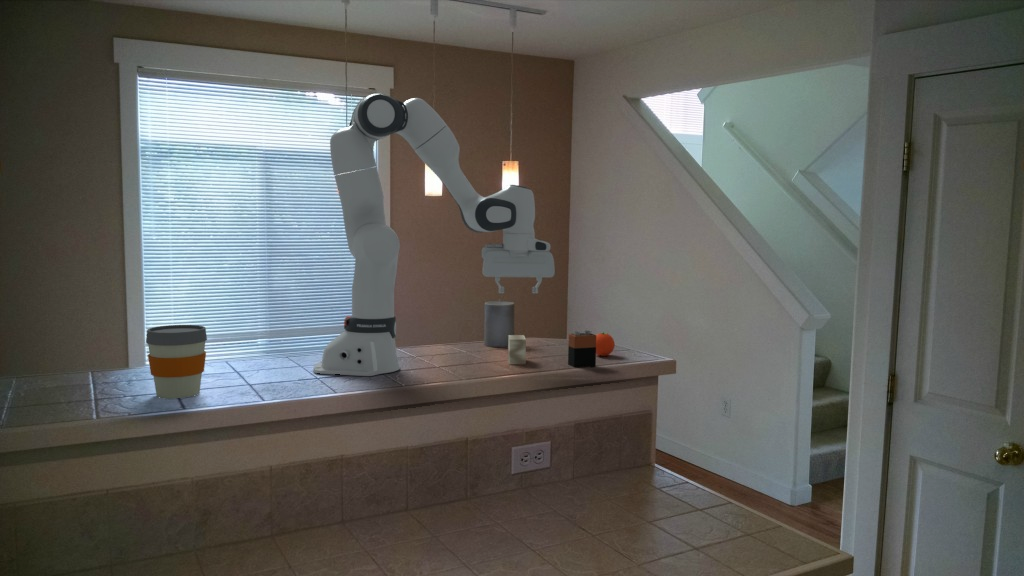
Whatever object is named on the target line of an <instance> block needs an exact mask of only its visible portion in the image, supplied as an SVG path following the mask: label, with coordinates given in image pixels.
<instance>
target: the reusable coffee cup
mask: <svg viewBox="0 0 1024 576" xmlns="http://www.w3.org/2000/svg"><path fill="white" fill-rule="evenodd" d="M145 338H146V339H145V343H146V344H147V346H148V354H147V358H148V365H149V371H150V375H151V376H152V377H153V382H154V389H155V394H156V397H157V398H159V397H160V398H159V399H163V398H166V399H165V400H175V399H174V398H180V399H185V398H184V397H188V398H191V397H190V396H193V397H195V396H194V395H196V396H198V395H199V394H200V393H201V392H200V391H201V385H202V376H203V372H205V367H206V356H207V351H206V350H205V347H206V341H207V340H208V337H207V329H206V327H205V326H204V325H198V324H197V325H196V324H169V325H161V326H153V327H150V328H147V329H146V337H145ZM197 394H198V395H197Z"/></svg>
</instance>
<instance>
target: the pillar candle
mask: <svg viewBox="0 0 1024 576" xmlns="http://www.w3.org/2000/svg"><path fill="white" fill-rule="evenodd" d="M483 335H484V346H486V347H490V348H508V335H515V302H513V301H506V300H501V299H499V300H495V301H493V300H492V301H485V302H484V334H483Z"/></svg>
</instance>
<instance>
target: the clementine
mask: <svg viewBox="0 0 1024 576" xmlns="http://www.w3.org/2000/svg"><path fill="white" fill-rule="evenodd" d="M595 335H596V355H598V356H600V355H601V356H600V357H606V356H609V355H610V354H612V353H613V352H614V349H615V345H616V344H615V340H614V338H613V337H612V336H611V335H610V334H609V333H608V332H604V331H603V332H600V333H597V334H595Z"/></svg>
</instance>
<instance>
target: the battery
mask: <svg viewBox="0 0 1024 576" xmlns="http://www.w3.org/2000/svg"><path fill="white" fill-rule="evenodd" d="M592 332H593V331H592V330H589V329H588V330H587V329H586V330H584V331H583V332H580V331H574V332H573V333H569V334H568V348H567V349H568V350H567V351H568V354H567V355H568V356H567V365H568V366H570V367H573V368H584V367H589V368H595V367H596V363H597V359H596V358H597V354H596V335H597V334H594V333H592Z"/></svg>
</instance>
